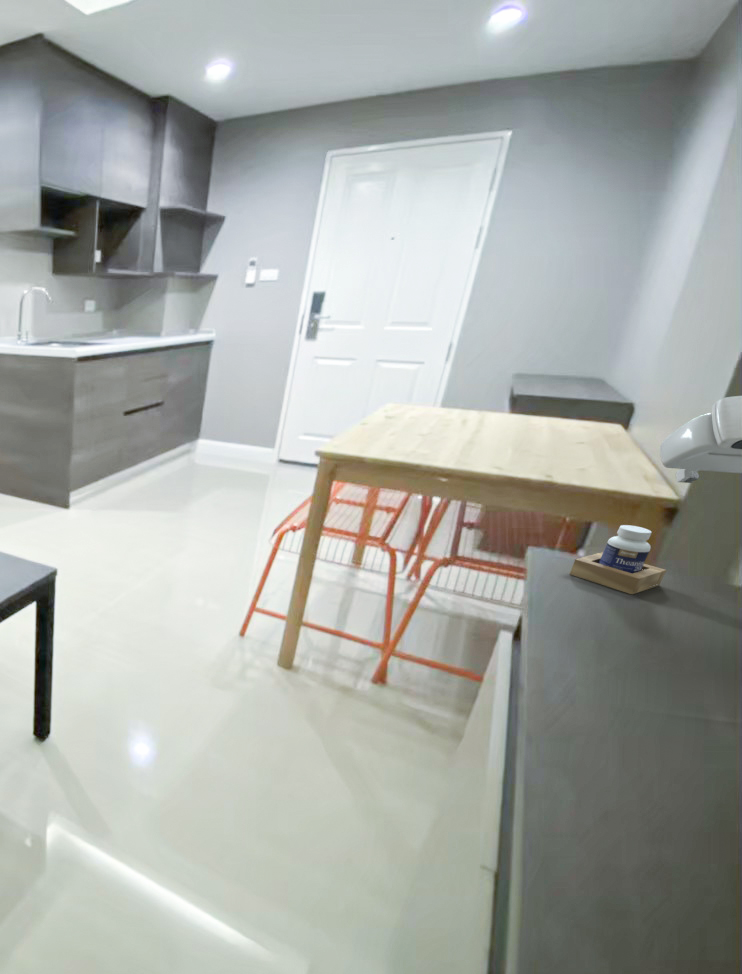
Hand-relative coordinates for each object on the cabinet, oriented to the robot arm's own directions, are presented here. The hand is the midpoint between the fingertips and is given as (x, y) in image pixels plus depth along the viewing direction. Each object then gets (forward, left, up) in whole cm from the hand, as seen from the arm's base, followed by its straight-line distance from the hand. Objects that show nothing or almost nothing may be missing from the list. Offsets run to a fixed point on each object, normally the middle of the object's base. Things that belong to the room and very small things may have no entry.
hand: (727, 481), depth 84 cm
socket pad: (-2, -19, -23) cm, 30 cm away
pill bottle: (-2, -19, -23) cm, 30 cm away
